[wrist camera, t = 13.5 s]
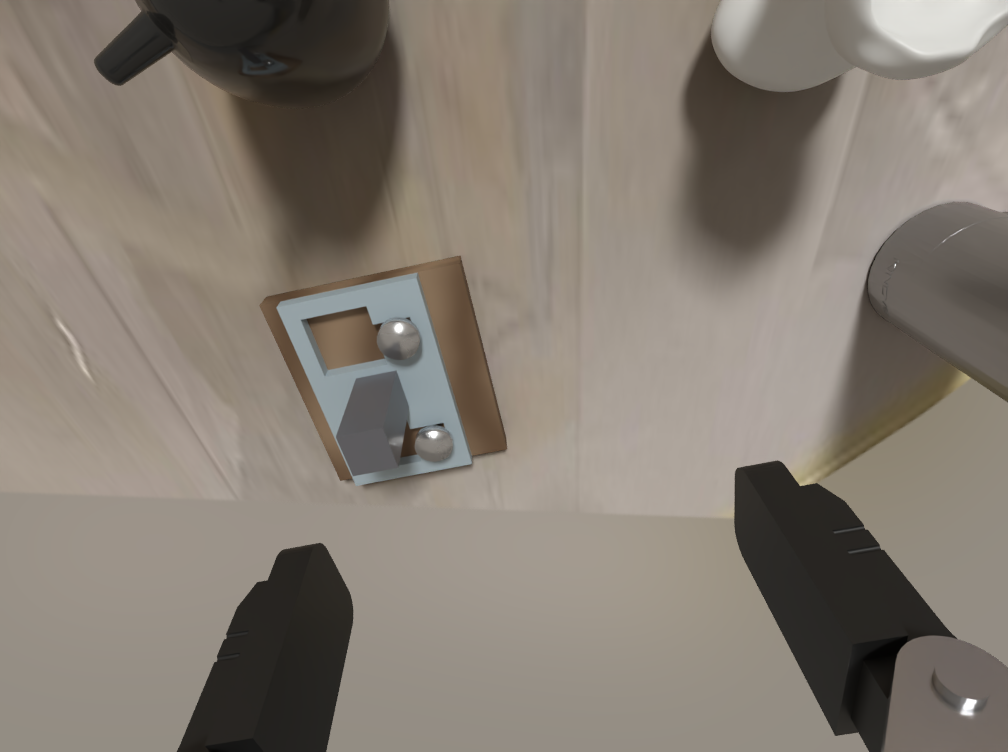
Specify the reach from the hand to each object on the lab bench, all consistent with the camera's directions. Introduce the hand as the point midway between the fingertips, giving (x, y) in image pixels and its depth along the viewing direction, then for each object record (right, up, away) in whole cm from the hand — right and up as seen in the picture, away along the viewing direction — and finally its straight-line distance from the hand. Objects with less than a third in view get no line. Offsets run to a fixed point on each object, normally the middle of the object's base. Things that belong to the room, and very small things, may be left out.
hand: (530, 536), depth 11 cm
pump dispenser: (-12, +24, +20) cm, 34 cm away
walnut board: (-9, +3, +33) cm, 34 cm away
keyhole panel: (-9, +2, +31) cm, 33 cm away
